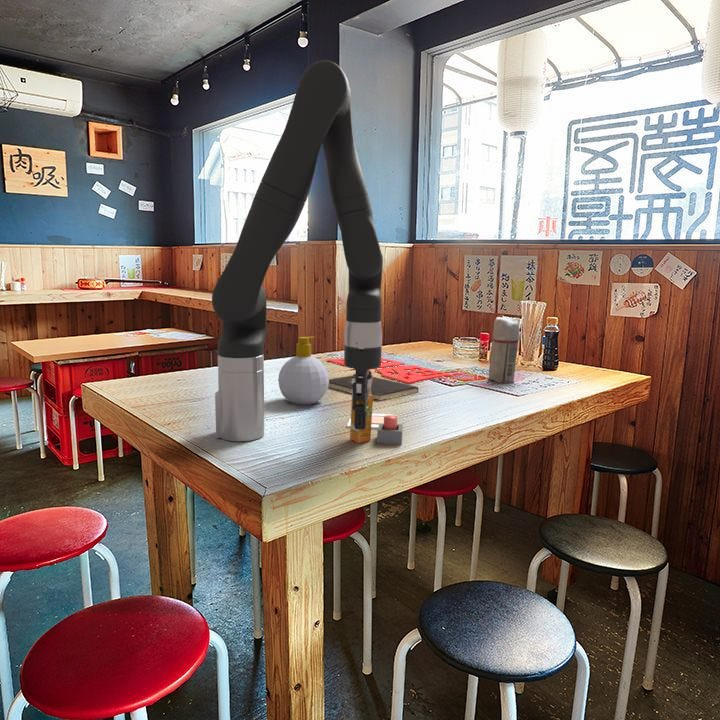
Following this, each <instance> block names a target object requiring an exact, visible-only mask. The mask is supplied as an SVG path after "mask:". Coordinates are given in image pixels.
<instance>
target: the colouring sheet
mask: <svg viewBox="0 0 720 720" xmlns="http://www.w3.org/2000/svg"><path fill="white" fill-rule="evenodd" d="M386 415H393V414H388V413H372V423H371V430H372V429H373V430H374V429H375V430H378V426H379V423H383V424H384V416H386ZM350 427H351V416H350V417H349V420H348V422H347V424H346V428H350Z"/></svg>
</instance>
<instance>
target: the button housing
mask: <svg viewBox="0 0 720 720" xmlns="http://www.w3.org/2000/svg"><path fill="white" fill-rule="evenodd" d="M403 427H404V425H403V423H402V424H400V423H399V424H398V423H397V430H386V429H384V424H383V423H379V426H378V429H376V430H377V433H376V434H377V435H376V436H377V437H376V440H377V441H376V444H379V443H380V444H383V445H397V444H403V433H404V432H403V429H404V428H403ZM380 444H379V445H380Z"/></svg>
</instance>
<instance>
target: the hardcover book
mask: <svg viewBox="0 0 720 720" xmlns="http://www.w3.org/2000/svg"><path fill="white" fill-rule="evenodd" d="M352 376H353V375H347V376H340V377H336V378H335V377H334V378H329V385H328V388H330V387H332V388H331V389H333V388H335V389H334V390H337V389H340V390H339V391H341V390H343V391H342V392H345V391H348V392H347V393H349V392H351V393H350V394H352V388H353V387H352ZM414 392H417V393H419V387H418V386H416V385H413V384H406V383H403V382H399V381H395V380H391V379H386V378H384V379H383V378H381V377H380V378H379V377H377V376H373V380H372V384H371V394H372V395H373V400H375V399H378V400H377V401H379V400H382V401H384V400H383V399H386V400H389V399H388V398H391V397H395V398H397V397H396V396H400V395H404V396H406V395H405V394H408V395H410V394H409V393H413V394H415V393H414ZM400 397H401V396H400ZM391 399H392V398H391Z"/></svg>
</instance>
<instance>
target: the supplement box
mask: <svg viewBox="0 0 720 720" xmlns="http://www.w3.org/2000/svg"><path fill="white" fill-rule="evenodd" d="M366 394H367V393H366ZM373 402H374V399H373V395H372V394H370V397H369V400H367V410H366V427H365V429H355V427H354V423H355V411H354V410H353V408H352V406H353V398H352V397H351V408H350V417H351V427H349V429H350V432H349V439H350V441H351V440H352V441H353V442H355V443H358V444H361V443H365V442H369V441H370V442H371V436H372V429H371V423H372V414H373ZM357 404H362V405H363V401H357Z"/></svg>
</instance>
